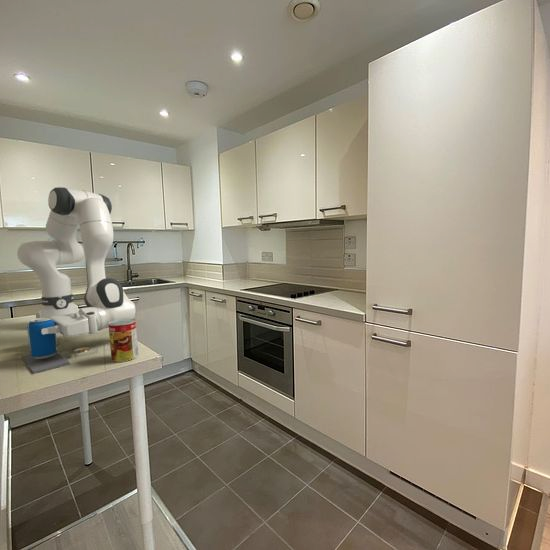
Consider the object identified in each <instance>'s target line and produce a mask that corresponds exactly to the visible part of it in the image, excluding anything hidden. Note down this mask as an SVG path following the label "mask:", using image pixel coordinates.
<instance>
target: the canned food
mask: <svg viewBox="0 0 550 550" xmlns="http://www.w3.org/2000/svg"><path fill="white" fill-rule="evenodd" d="M136 323H137V322H136V319H135V318H134V319H119V320H115V321H111V322H109V323H108V325H109V328H108V336H109V346H110V347H109V348H110V357H111V358H110V359H111V362H113V361H116V362H115V363H121V362H120V361H127V360H131V359H133V360H135V359H134V358H136V357H137V356H138V357H139V347H138V337H137V336H138V334H137V324H136ZM138 357H137V358H138ZM137 358H136V359H137ZM131 361H132V360H131ZM127 362H128V361H127Z"/></svg>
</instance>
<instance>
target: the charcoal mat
mask: <svg viewBox="0 0 550 550" xmlns="http://www.w3.org/2000/svg"><path fill="white" fill-rule="evenodd" d="M21 357H22V358H23V359H22V358H21V359H22V360H23V362H24V361H25V362H24V363H25V364H26V365H28V366H29V367H28V366H27V367H28V368H29V370H31V373H32V374H39V373H42V372H46V371H50V370H52V369H57V368H60V367H65V366H69V365H71V362H70V361H69V360H68V359H66V357H64V355H62V354H61V353H59V351H58V350H56V353H54V355H53V356H50V357H47V358H42V359H35V358H34V357H32V356H31V353H28V354H24V355H21Z"/></svg>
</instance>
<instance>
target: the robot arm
mask: <svg viewBox="0 0 550 550" xmlns="http://www.w3.org/2000/svg"><path fill="white" fill-rule="evenodd" d="M47 202H48V207H49V209H50V212H49V214H48V218H47V221H46V223H45V231H46V233H47V234H48V235H49V236H50V237H51V238H53V240H34V241H28V242H23V243H21V244H20V245H19V247H18V248H17V252H16V253H17V255H16V256H17V258H18V260H19V262H20V263H21V264H23V265H24V266H26V267H28V268H29V269H30V270H32V271H33V272H34V274H35V275H36V276H37V278H38V281H39V284H40V290H41V298H40V302H41V308H40V310H39V311H38V312H37V313H36V314H35V319H36V318H44V317H51V318H52V320H53V321H54V327H46V328H41V334H43V335H44V334H51V333H56V334H61V335H63V336H64V337H74V336H80V335H87V334H89V335H95V334H97V333H98V332H99V331H102V330H105V329H107V328H108V329H109V325H108V323H109V322H111V321H115V320H119V319H135V318H136V314H137V313H136V312H137V309H136V304H135V302H134V301H131V299H130V298H129V297H128V296H127V294H126V293H125V290H124V287H123V285H122V283H121V282H119V280H117V279H115V278H111V277H106V268H105V263H106V257H107V254H108V253H109V251H110V248H111V247H112V245H113V242H114V236H115V235H114V226H113V221H112V217H111V214H112V207H113V206H112V202H111V200H110V198H109V197H107V196H106V195H104V194H101V193H95V192H93V191H92V192H91V191H88V190H83V189H82V190H80V189H74V188H66V187H58V186H57V187H53V188H52V189H51V190H50V191H49V194H48V199H47ZM78 229H79V233H80V237H81V243H82V244H81V243H79V242H78V241H77V231H78ZM83 258H85V271H86V280H87V287H86V289H85V290H86V291H85V292H84V296H83V297H84V298H83V300H84V304H85V306H86V307H82V308H79V306H78V305H77V304H76V303H75V302H74V294H73V293H72V285H71V279H70V276H68V275H67V274H66V273H64V272H63V273H62V272H60V271H59V270H58V269H57V266H60V265H61V266H63V265H70V264H74V263H78V262H81V261H82V260H83Z"/></svg>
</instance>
